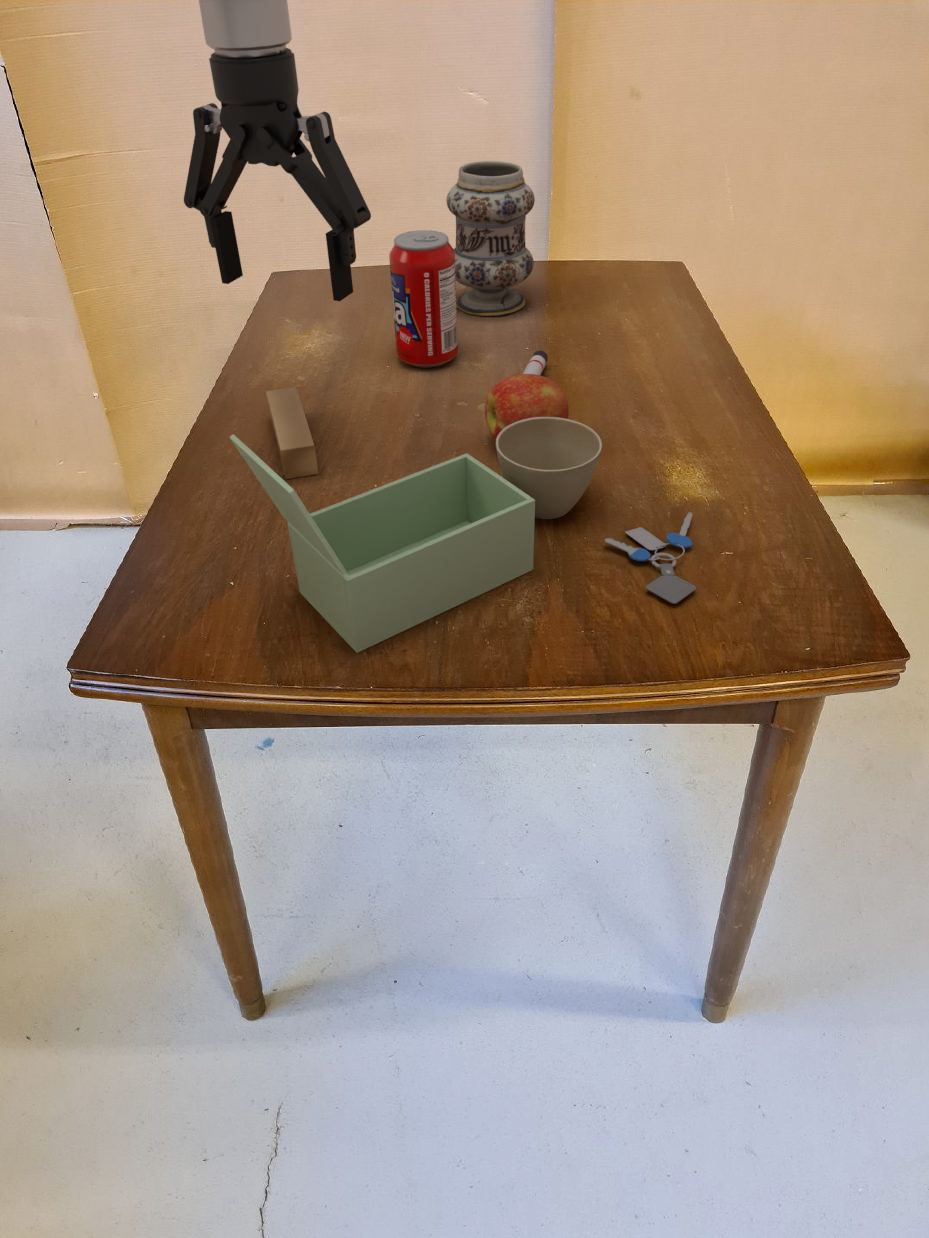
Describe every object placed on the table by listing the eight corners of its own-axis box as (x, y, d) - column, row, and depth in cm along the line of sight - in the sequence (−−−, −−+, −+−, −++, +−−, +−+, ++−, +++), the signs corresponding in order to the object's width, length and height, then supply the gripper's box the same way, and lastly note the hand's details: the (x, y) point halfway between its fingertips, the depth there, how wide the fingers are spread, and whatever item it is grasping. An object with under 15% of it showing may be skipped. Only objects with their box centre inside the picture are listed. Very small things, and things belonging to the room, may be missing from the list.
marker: (532, 364, 115) (532, 349, 113) (547, 366, 114) (548, 350, 113) (502, 421, 103) (502, 405, 102) (519, 423, 103) (519, 407, 102)
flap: (347, 572, 69) (343, 575, 69) (287, 514, 75) (283, 517, 75) (294, 489, 62) (289, 493, 62) (233, 433, 68) (228, 437, 68)
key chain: (696, 609, 77) (697, 601, 76) (598, 600, 78) (599, 593, 78) (693, 517, 87) (694, 510, 87) (607, 511, 89) (607, 504, 88)
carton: (356, 653, 74) (346, 581, 69) (299, 592, 80) (286, 522, 76) (533, 569, 82) (535, 499, 77) (468, 520, 88) (466, 452, 83)
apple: (480, 433, 101) (479, 366, 96) (551, 423, 103) (554, 356, 98) (499, 469, 95) (499, 399, 90) (575, 457, 97) (579, 388, 92)
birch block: (285, 479, 95) (280, 450, 93) (270, 418, 105) (265, 391, 103) (318, 474, 96) (314, 444, 93) (300, 414, 106) (296, 386, 104)
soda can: (457, 371, 114) (453, 248, 104) (395, 372, 114) (385, 250, 104) (458, 345, 120) (455, 226, 110) (399, 346, 120) (390, 228, 110)
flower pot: (483, 526, 88) (483, 461, 83) (510, 473, 95) (510, 411, 90) (586, 541, 85) (591, 476, 80) (605, 486, 92) (610, 423, 88)
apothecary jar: (543, 293, 133) (548, 159, 121) (515, 325, 124) (517, 184, 113) (467, 284, 136) (464, 153, 125) (435, 313, 128) (428, 176, 116)
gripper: (394, 48, 79) (410, 290, 93) (165, 37, 87) (210, 261, 101) (351, 63, 74) (374, 317, 88) (112, 50, 82) (167, 284, 96)
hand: (286, 288), depth 94 cm, fingers open, 13 cm apart
